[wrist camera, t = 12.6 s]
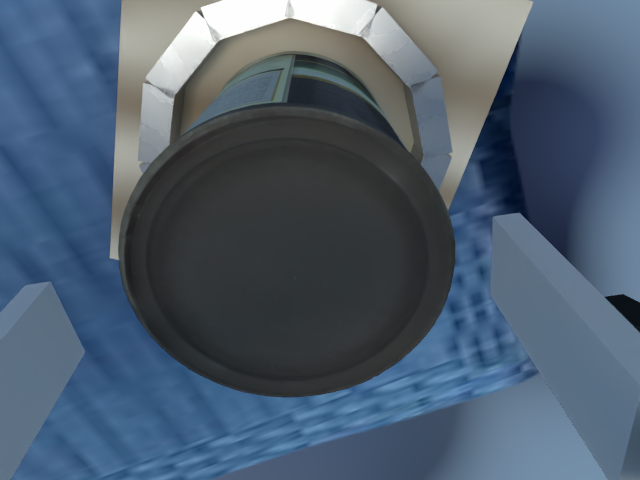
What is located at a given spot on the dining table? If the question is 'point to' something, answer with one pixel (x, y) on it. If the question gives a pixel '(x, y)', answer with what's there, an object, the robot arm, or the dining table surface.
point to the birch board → (350, 50)
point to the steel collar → (317, 8)
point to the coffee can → (287, 235)
